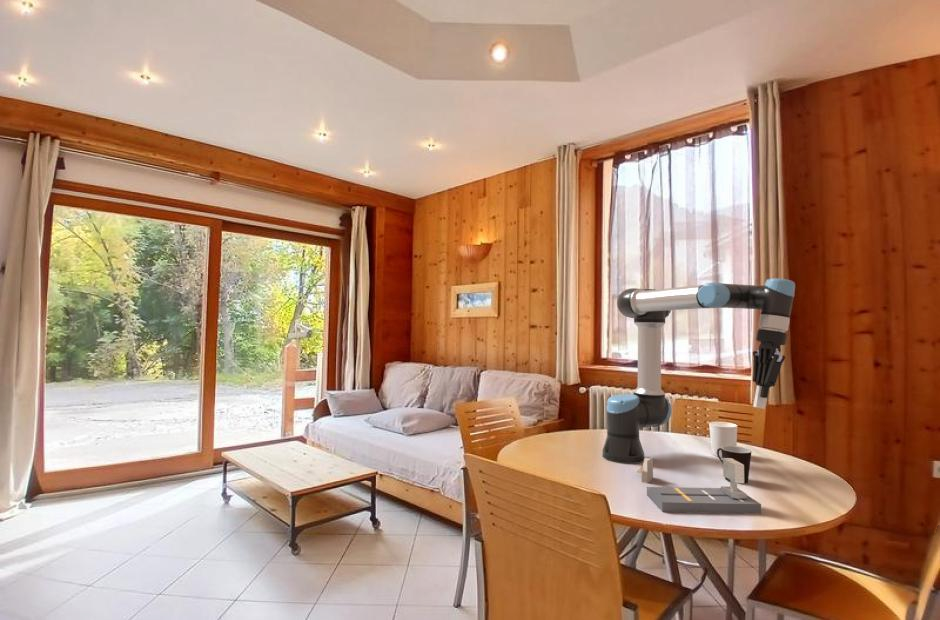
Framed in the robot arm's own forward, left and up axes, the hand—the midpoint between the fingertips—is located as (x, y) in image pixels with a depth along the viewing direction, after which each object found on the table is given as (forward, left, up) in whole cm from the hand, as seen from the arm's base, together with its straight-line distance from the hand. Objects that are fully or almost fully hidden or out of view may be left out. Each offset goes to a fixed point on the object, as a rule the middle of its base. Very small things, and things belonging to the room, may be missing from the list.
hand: (759, 407), depth 138 cm
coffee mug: (-7, +11, -26) cm, 29 cm away
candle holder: (-12, +41, -26) cm, 50 cm away
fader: (-6, -14, -23) cm, 28 cm away
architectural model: (-31, -6, -26) cm, 41 cm away
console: (-14, -19, -26) cm, 35 cm away
